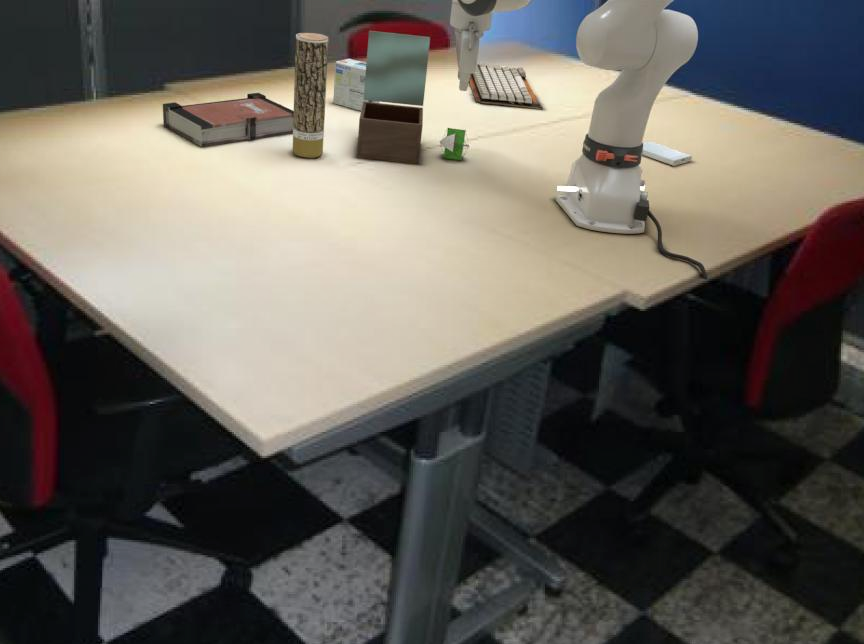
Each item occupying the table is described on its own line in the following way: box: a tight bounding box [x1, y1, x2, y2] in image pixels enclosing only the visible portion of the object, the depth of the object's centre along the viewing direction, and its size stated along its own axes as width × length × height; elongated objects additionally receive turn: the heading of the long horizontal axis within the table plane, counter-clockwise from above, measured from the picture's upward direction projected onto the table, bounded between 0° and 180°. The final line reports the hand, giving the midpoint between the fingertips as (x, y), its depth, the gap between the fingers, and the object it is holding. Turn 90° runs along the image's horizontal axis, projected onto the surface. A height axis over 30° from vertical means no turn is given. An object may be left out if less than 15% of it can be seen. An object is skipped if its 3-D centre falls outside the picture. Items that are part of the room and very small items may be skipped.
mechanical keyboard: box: [468, 62, 543, 110], centre depth 267 cm, size 38×19×3 cm, turn 2°
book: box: [162, 92, 294, 148], centre depth 210 cm, size 26×18×5 cm
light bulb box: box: [332, 58, 380, 112], centre depth 235 cm, size 11×7×11 cm, turn 58°
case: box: [356, 102, 424, 165], centre depth 207 cm, size 14×14×9 cm
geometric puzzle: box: [439, 127, 470, 161], centre depth 208 cm, size 7×7×8 cm
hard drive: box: [642, 140, 693, 167], centre depth 226 cm, size 2×8×12 cm
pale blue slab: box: [363, 30, 431, 107], centre depth 208 cm, size 15×14×1 cm
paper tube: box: [292, 32, 329, 159], centre depth 195 cm, size 7×7×25 cm
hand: (462, 84), depth 201 cm, fingers open, 8 cm apart
